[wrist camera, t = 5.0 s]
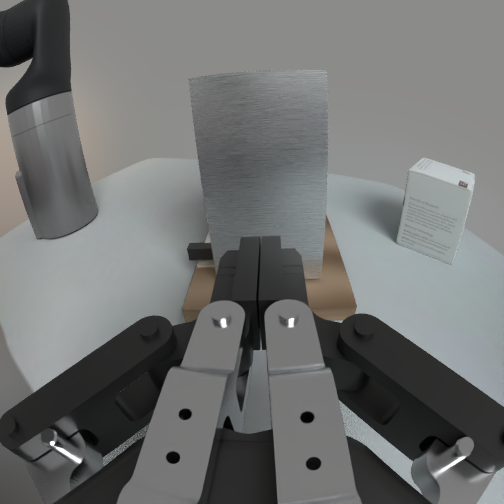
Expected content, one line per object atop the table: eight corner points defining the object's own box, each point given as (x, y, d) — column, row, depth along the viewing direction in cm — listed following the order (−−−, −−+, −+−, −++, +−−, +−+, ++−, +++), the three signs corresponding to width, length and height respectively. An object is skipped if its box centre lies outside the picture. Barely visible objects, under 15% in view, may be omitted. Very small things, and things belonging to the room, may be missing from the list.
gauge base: (353, 318, 18) (372, 219, 14) (186, 322, 19) (159, 226, 15) (311, 184, 38) (311, 131, 34) (228, 187, 39) (223, 135, 35)
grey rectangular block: (320, 278, 19) (326, 70, 12) (183, 281, 20) (145, 86, 13) (312, 239, 24) (312, 72, 16) (198, 243, 24) (173, 83, 17)
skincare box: (411, 221, 28) (421, 156, 24) (460, 239, 25) (476, 172, 21) (394, 244, 25) (407, 168, 21) (452, 267, 21) (474, 189, 17)
